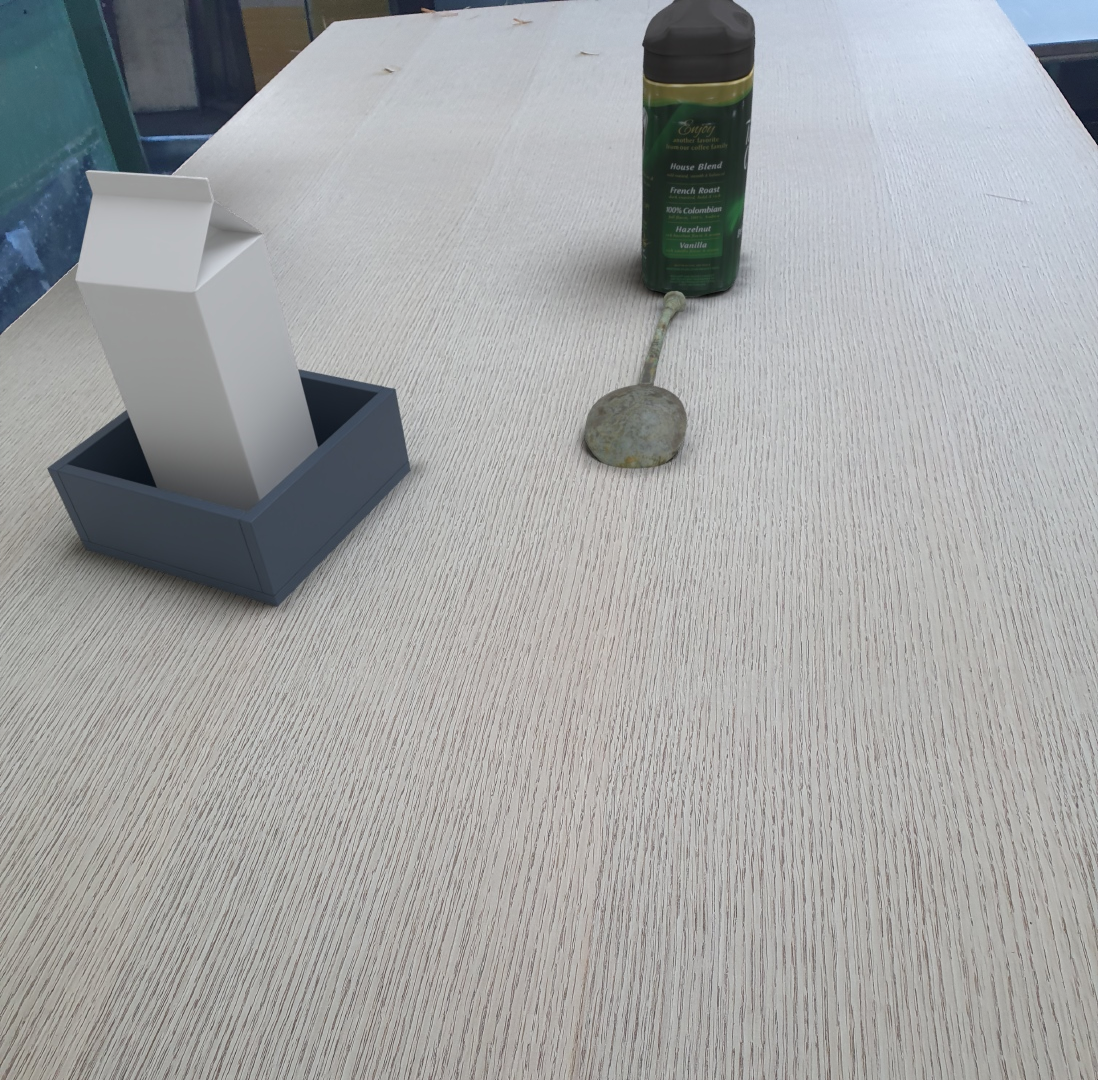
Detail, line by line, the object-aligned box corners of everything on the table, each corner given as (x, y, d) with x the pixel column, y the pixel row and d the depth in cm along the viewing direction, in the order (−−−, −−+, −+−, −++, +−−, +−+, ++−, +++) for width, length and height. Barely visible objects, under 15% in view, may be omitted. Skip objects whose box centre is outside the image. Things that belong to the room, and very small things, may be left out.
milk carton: (271, 540, 63) (167, 207, 50) (169, 523, 65) (41, 198, 51) (325, 474, 68) (244, 152, 54) (229, 460, 70) (126, 145, 56)
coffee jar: (739, 302, 82) (758, 21, 69) (637, 302, 84) (636, 25, 70) (741, 249, 89) (759, -18, 75) (646, 249, 90) (647, -13, 77)
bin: (86, 552, 66) (46, 468, 61) (232, 431, 74) (206, 350, 70) (278, 610, 60) (250, 522, 56) (411, 473, 69) (396, 388, 65)
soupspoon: (574, 476, 69) (676, 488, 68) (574, 431, 66) (679, 443, 65) (633, 307, 83) (718, 314, 82) (635, 264, 80) (722, 271, 79)
